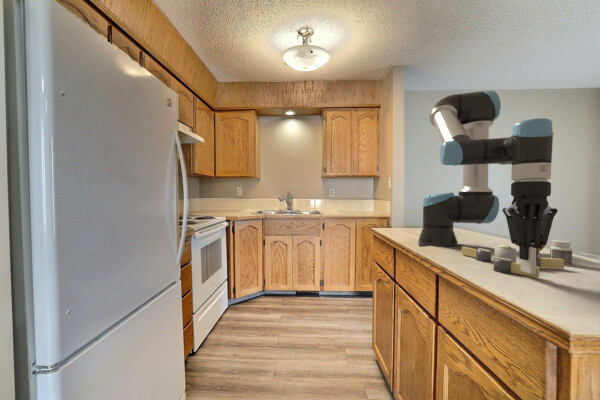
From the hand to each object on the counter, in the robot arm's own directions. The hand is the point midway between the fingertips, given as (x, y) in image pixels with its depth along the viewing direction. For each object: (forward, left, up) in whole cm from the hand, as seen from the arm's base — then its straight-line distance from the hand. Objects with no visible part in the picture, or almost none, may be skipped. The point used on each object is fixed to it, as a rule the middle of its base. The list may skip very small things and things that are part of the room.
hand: (527, 272), depth 64 cm
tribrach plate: (-11, 0, -3) cm, 11 cm away
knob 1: (-19, -5, -2) cm, 19 cm away
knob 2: (-3, -1, -2) cm, 4 cm away
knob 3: (-11, +9, -2) cm, 14 cm away
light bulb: (-24, +14, -3) cm, 28 cm away
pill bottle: (-18, +18, -3) cm, 26 cm away
